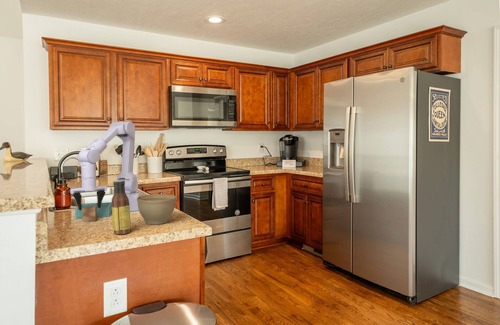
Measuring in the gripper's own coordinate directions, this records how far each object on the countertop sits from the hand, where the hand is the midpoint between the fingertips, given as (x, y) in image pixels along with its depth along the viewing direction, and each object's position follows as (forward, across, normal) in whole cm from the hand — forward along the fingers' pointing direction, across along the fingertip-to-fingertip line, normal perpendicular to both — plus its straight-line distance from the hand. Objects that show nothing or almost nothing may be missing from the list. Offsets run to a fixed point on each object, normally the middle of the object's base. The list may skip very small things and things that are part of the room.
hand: (89, 208), depth 149 cm
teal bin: (+5, -5, -11) cm, 13 cm away
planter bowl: (+5, -21, +21) cm, 31 cm away
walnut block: (+5, 0, 0) cm, 5 cm away
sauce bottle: (+6, -4, +29) cm, 30 cm away
